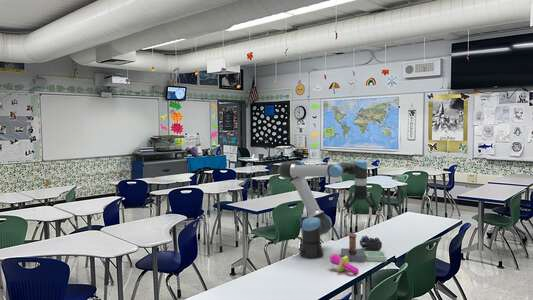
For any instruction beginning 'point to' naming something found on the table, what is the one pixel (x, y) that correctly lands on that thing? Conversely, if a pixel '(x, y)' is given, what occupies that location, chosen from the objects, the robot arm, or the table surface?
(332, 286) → the table surface
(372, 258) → the tray
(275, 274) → the table surface
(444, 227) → the table surface
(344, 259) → the toy
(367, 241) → the toy
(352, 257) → the hitch block
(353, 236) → the pin
